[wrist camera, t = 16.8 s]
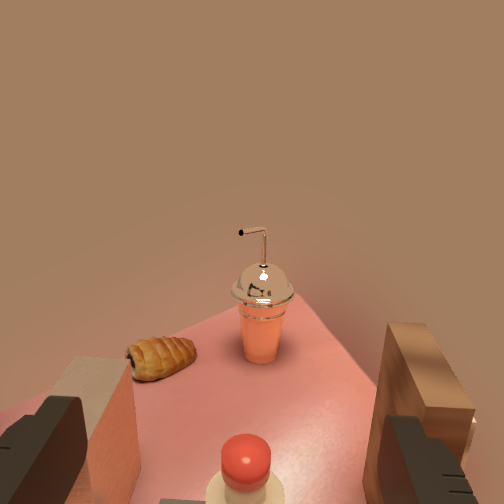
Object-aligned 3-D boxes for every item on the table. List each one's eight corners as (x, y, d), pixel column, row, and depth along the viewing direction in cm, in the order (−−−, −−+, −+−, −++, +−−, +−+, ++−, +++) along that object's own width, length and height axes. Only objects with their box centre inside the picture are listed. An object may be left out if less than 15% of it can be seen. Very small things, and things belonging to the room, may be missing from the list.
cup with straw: (302, 362, 61) (313, 224, 53) (245, 381, 57) (248, 235, 49) (270, 332, 68) (276, 206, 60) (216, 347, 64) (215, 215, 56)
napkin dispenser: (104, 572, 35) (85, 447, 30) (42, 568, 35) (13, 443, 30) (140, 467, 44) (130, 359, 39) (91, 464, 44) (75, 356, 39)
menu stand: (433, 595, 34) (485, 409, 27) (385, 592, 34) (425, 406, 27) (399, 483, 43) (431, 323, 36) (362, 481, 43) (387, 322, 36)
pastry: (185, 342, 65) (184, 320, 64) (205, 367, 60) (205, 343, 58) (121, 362, 60) (119, 338, 59) (138, 390, 55) (136, 365, 54)
